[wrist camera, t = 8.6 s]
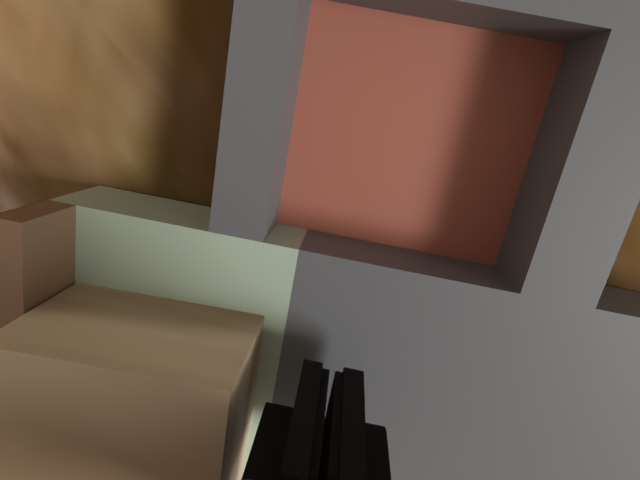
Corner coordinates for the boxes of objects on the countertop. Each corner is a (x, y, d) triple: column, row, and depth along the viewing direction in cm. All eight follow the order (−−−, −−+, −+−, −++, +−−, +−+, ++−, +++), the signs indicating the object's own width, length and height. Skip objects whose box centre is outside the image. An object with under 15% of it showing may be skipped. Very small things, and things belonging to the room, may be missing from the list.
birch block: (77, 282, 12) (-26, 343, 9) (264, 315, 12) (230, 391, 9) (78, 437, 14) (-9, 539, 11) (244, 469, 14) (209, 583, 10)
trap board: (108, -78, 12) (-30, -185, 8) (949, 74, 11) (1306, 51, 7) (88, 536, 19) (7, 662, 14) (619, 652, 18) (702, 821, 14)
